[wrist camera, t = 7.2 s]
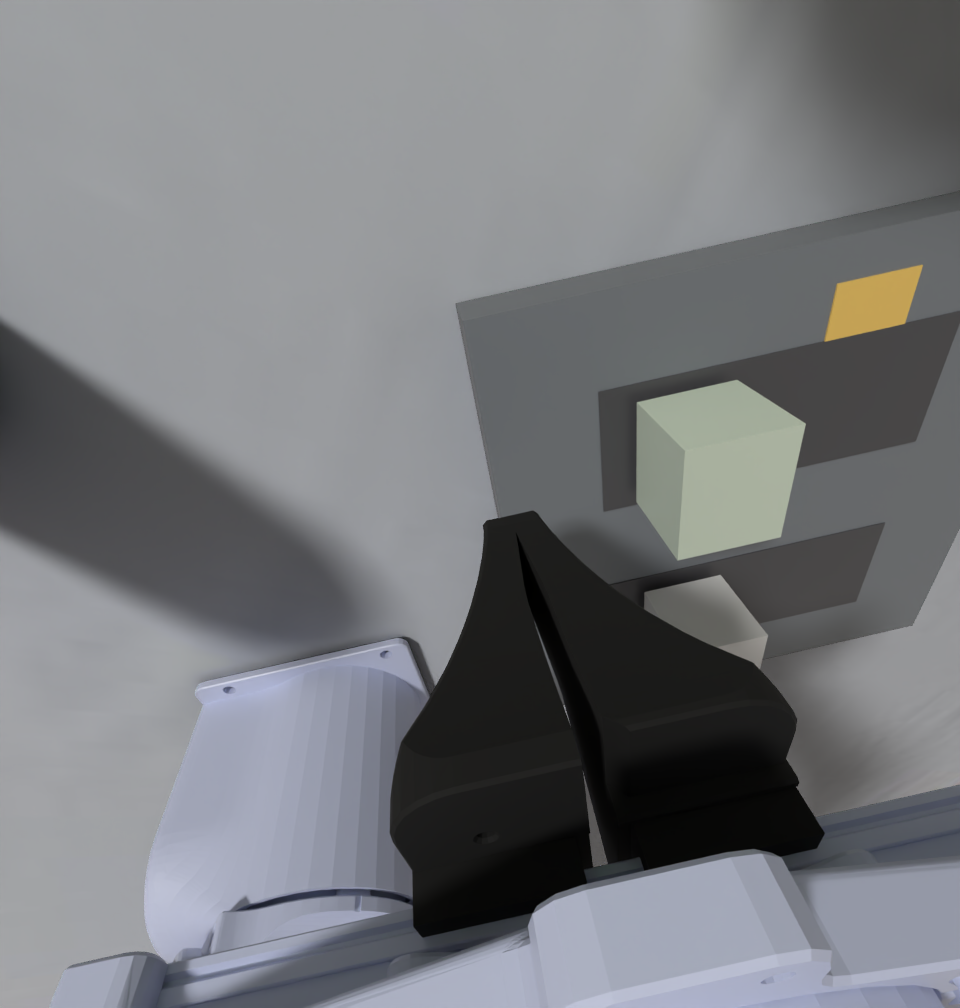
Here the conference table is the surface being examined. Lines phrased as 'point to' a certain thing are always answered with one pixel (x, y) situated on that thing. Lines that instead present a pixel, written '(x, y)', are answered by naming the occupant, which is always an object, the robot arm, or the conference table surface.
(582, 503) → the switch panel
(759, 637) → the light grey block
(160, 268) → the conference table surface
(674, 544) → the tab sage
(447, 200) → the conference table surface
